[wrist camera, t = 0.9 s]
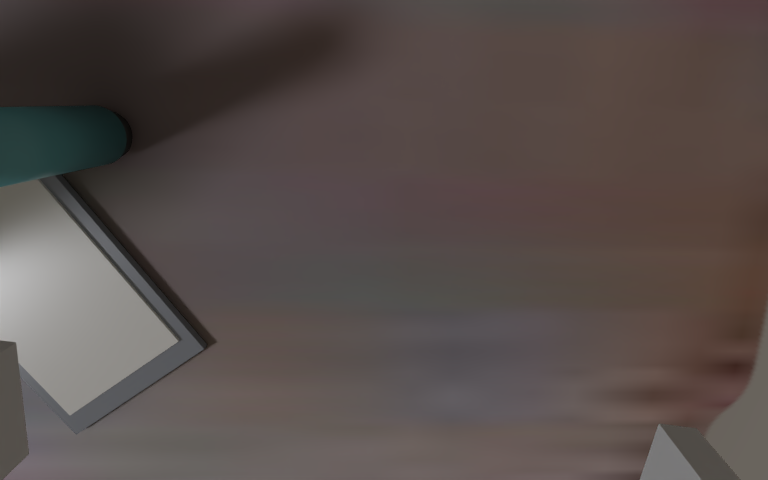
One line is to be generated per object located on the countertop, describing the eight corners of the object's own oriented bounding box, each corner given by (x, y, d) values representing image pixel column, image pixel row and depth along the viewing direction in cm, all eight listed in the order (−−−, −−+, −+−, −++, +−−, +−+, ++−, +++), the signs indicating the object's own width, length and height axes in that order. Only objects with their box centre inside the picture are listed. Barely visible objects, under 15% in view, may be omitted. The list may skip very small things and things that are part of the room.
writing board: (-98, 244, 35) (-110, 247, 34) (28, 136, 32) (18, 136, 31) (81, 429, 38) (74, 436, 37) (207, 345, 36) (202, 350, 35)
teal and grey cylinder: (69, 126, 32) (-141, 143, 20) (109, 92, 31) (-82, 87, 19) (108, 174, 32) (-71, 218, 20) (149, 141, 32) (-11, 167, 20)
